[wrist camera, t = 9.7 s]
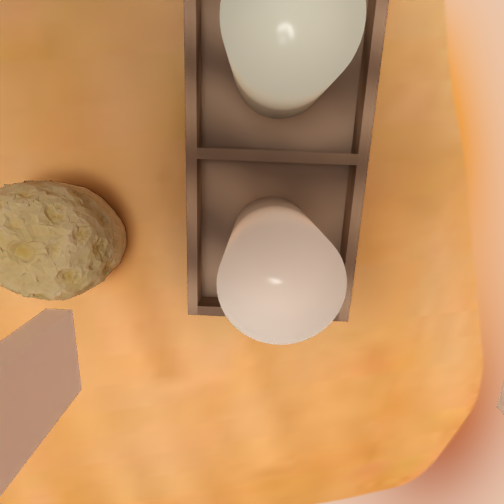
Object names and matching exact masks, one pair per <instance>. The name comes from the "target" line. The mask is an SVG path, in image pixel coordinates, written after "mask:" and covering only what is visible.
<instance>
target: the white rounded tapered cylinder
mask: <svg viewBox="0 0 504 504" xmlns="http://www.w3.org/2000/svg"><path fill="white" fill-rule="evenodd" d="M216 285H217V295H218V300H219V303H220V306H221V308H222V310H223V312H224V314H225V315H226V317H227V318H228V320H229V321H230V322H231V323H232V324H233V325H234V327H236V328H237V329H238V330H239V331H240V332H242V333H243V334H245V335H246V336H248V337H250V338H252V339H254V340H257V341H260V342H264V343H268V344H276V345H285V344H293V343H297V342H301V341H304V340H307V339H309V338H311V337H313V336H315V335H317V334H318V333H320V332H321V331H323V330H324V329H325V328H326V327H327V326H328V325H329V324H330V323H331V322H332V321H333V320H334V319H335V317H336V316H337V314H338V313H339V311H340V309H341V307H342V305H343V302H344V299H345V295H346V290H347V275H346V270H345V266H344V263H343V260H342V258H341V256H340V254H339V252H338V251H337V249H336V248H335V247H334V245H333V244H332V243H331V242H330V241H329V240H328V239H327V238H326V237H325V235H324V234H323V233H322V232H321V231H320V230H319V229H318V228H317V227H316V226H315V225H314V224H313V222H312V221H311V220H310V219H309V218H308V217H307V216H306V215H305V214H304V213H303V212H302V211H301V209H300V208H299V207H298V206H297V205H295V204H294V203H293V202H291V201H289V200H287V199H284V198H280V197H274V196H272V197H263V198H259V199H257V200H255V201H253V202H251V203H249V204H248V205H247V206H246V207H245V208H244V209H243V210H242V211H241V212H240V214H239V215H238V217H237V219H236V222H235V224H234V227H233V230H232V233H231V235H230V238H229V241H228V244H227V247H226V249H225V252H224V255H223V258H222V261H221V263H220V266H219V270H218V274H217V283H216Z"/></svg>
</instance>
